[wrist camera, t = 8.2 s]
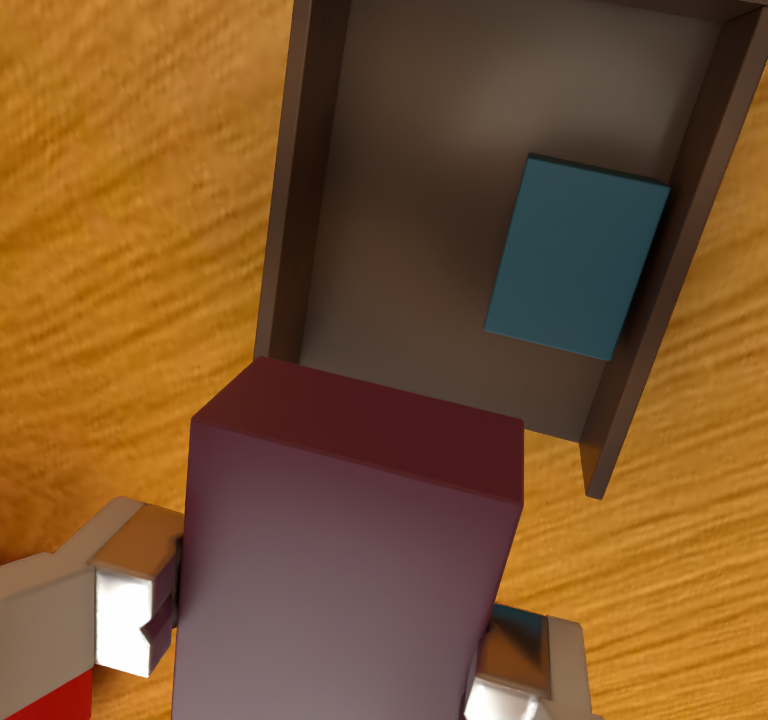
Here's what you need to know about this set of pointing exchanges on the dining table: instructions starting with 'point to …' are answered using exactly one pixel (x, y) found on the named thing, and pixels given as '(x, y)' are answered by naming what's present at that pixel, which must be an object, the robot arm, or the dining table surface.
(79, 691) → the tomato
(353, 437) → the block
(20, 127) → the dining table surface
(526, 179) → the teal packet
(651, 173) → the dark brown open tray
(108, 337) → the dining table surface
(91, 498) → the dining table surface
